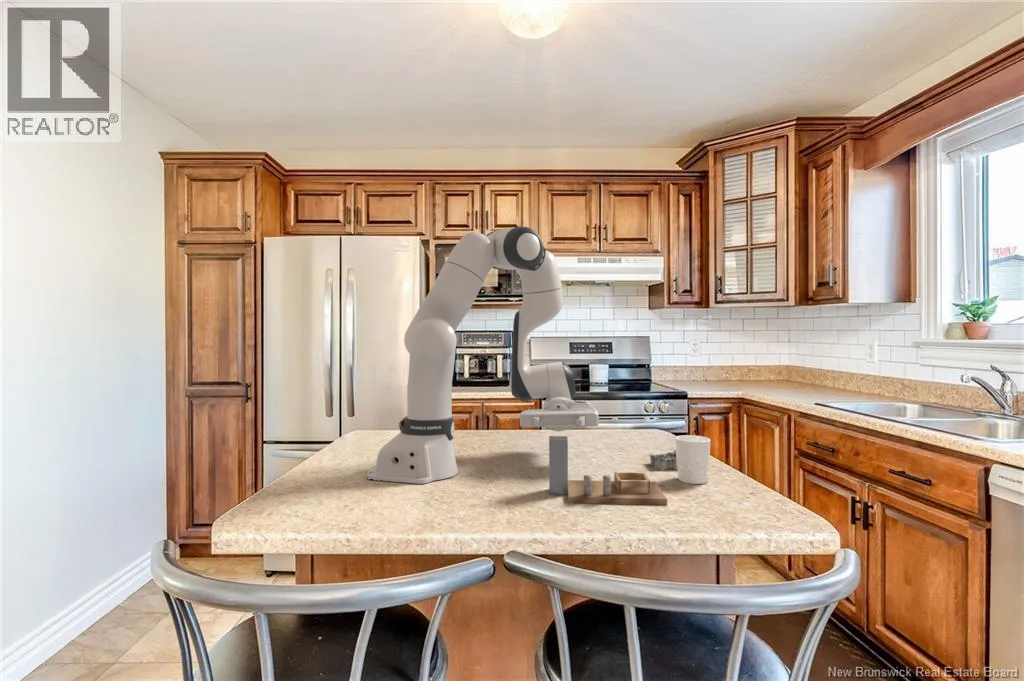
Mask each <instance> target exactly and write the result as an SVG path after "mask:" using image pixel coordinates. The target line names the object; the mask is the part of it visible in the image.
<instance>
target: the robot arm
mask: <svg viewBox="0 0 1024 681" xmlns="http://www.w3.org/2000/svg"><path fill="white" fill-rule="evenodd" d="M492 269H495V270H507V271H512V270H513V271H514V270H515V271H516V273H517V274H518V276H519V278H520V282H521V289H522V302H521V303H522V304H521V307H520V309H519V310H518V311H516V312H515V314H514V317H513V324H512V325H513V326H512V327H513V328H512V345H511V346H512V347H511V348H512V350H511V352H512V354H511V371H510V376H509V389H510V390H509V391H510V393H511V395H512V397H514V398H515V399H516V400H519V401H520V402H522V403H524V402H529V401H532V400H536V399H544V398H546V399H545V400H544V403H543V406H542V409H541V408H539V409H525V410H523V411H521V412H520V414H519V426H520V427H522V428H548V429H550V430H551V431H554V432H564V431H568V430H571V429H575V428H577V429H578V428H586V427H587V428H588V427H599V425H600V424H599V423H600V418H599V412H598V410H597V408H595V407H594V406H592V405H591V403H590V402H589V401H580V400H574V398H575V396H576V392H577V388H576V381H575V380H576V379H575V376H574V372H573V371H572V369H571V367H570V366H569V365H568V364H567V363H566V362H564V361H557V362H556V361H555V362H547V363H543V364H534V365H527V363H526V356H527V355H526V354H527V339H528V336H529V335H530V334H531V333H532V332H533V331H534V330H536V329H537V328H540V327H541V326H543V325H545V324H548V322H550V321H551V320H553V319H555V318H556V317H557V315H559V314H560V312H561V310H562V308H563V304H564V303H563V302H564V299H563V298H564V297H563V288H562V287H563V286H562V279H561V276H560V275H561V274H560V271H559V267H558V263H557V260H556V257H555V256H554V254H553V253H552V252H551V251H549V250H547V249H546V247H545V246H544V243H543V241H542V238H541V236H540V235H539V233H538V232H537V231H536V230H534V229H532V228H531V227H529V226H528V227H527V226H516V227H504V228H501V229H498V230H493V231H491V232H489V233H487V234H483V233H481V232H475V231H469V232H467V233H465V234H464V235H462V237H461V238H460V239H459V240H458V242H457V243H456V245H455V246H454V247H453V248H452V250H451V252H450V254H448V257H447V258H446V260H445V262H444V264H443V266H442V268H441V269H440V271H439V273H438V275H437V277H436V279H435V281H434V283H433V285H432V287H431V288H430V290H429V292H428V294H427V295H426V297H425V298H424V300H423V301H422V303H421V304H420V306H419V308H418V310H417V311H416V313H415V315H414V317H413V318H412V320H411V322H410V323H409V326H408V327H407V329H406V331H405V333H404V338H403V339H404V340H403V342H404V346H405V349H406V351H407V352H408V354H409V363H408V376H407V377H408V378H407V385H406V388H407V389H406V392H407V395H406V397H407V399H406V400H407V403H406V404H407V408H406V409H407V414H406V416H404V417H402V420H400V421H399V423H398V428H399V431H400V432H399V433H398V434H397V435H396V436H394V437H393V438H392V439H390V440H389V441H388V442H387V443H385V444H384V445H383V446H382V447H381V449H379V451H378V454H377V458H376V464H375V465H373V466H371V468H369V469H368V471H366V472H367V473H366V479H367V478H368V480H370V479H373V481H381V480H382V481H383V482H394V483H396V482H397V483H407V484H419V485H420V484H421V485H422V484H423V485H424V484H427V483H428V484H429V483H431V482H434V481H439V480H445V479H449V478H452V477H454V476H456V475H458V474H459V472H460V471H459V467H458V464H457V458H456V455H455V448H454V436H455V420H454V416H453V413H452V412H453V409H452V408H453V404H452V403H453V402H452V401H453V392H452V391H453V377H454V369H455V361H456V360H455V359H456V350H457V349H456V347H457V343H458V342H457V341H458V340H457V335H456V330H457V329H458V327H459V326H460V324H461V322H463V320H464V319H465V317H466V315H467V314H468V313H469V312H470V309H471V308H472V306H473V304H474V302H475V301H476V299H477V296H478V295H479V292H480V291H481V288H482V287H483V285H484V282H485V280H486V279H487V276H488V274H489V273H490V271H491V270H492Z"/></svg>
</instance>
